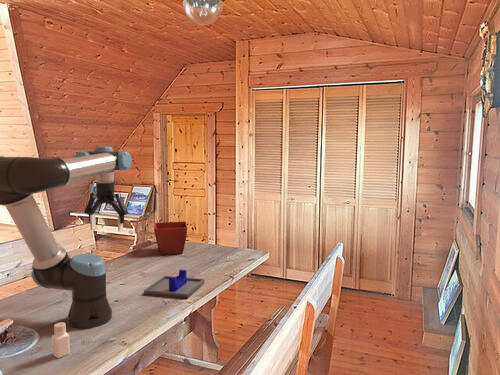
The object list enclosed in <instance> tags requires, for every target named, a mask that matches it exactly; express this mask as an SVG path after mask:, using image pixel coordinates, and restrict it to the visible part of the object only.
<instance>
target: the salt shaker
mask: <svg viewBox="0 0 500 375" xmlns="http://www.w3.org/2000/svg"><path fill="white" fill-rule="evenodd" d="M66 325H67V324H66V323H65V322H57V323H55V324H54V325H53V331H54V334H52V336H51V348H52V349H51V350H52V355H53V356H54V357H55V358H57V359H60V358H62V357H65V356H69V355H70V353H71V349H70V348H71V347H70V346H71V345H70V334H69V333H67V331H66V330H67V328H66V327H67V326H66Z"/></svg>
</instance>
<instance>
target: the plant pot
mask: <svg viewBox="0 0 500 375" xmlns="http://www.w3.org/2000/svg"><path fill="white" fill-rule="evenodd" d="M153 232H154V237H155V242H156V245H157V248H158V251H159V254H160V256H168V255H169V256H171V255H182V254H183V253H184V250H185V246H186V241H187V233H188V225H187V221H169V222H168V221H167V222H155V223H154V227H153Z"/></svg>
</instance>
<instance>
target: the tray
mask: <svg viewBox="0 0 500 375" xmlns="http://www.w3.org/2000/svg"><path fill="white" fill-rule="evenodd" d="M169 277H174V276H173V275H164V276H162V277H160V278H159V279H158V280H157V281H155V282H154V283H152V284H151V285H150V286H148V287H147V288H145V289H144V290H143V294H144V296H152V297H153V296H154V297H162V298H163V297H164V298H173V299H175V298H176V299H185V300H188V299H189V298H191V296H193V295H194V294H195V293H196V292H197V291H198V290H199V289H201V287H202V286H203V285H204V284H205V278H197V277H196V278H195V277H187V283H186V284H184V285H183V286H182V287H181V288H179V289H178V290H177V291H176V292H173V291H169Z"/></svg>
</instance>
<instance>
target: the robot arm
mask: <svg viewBox="0 0 500 375" xmlns="http://www.w3.org/2000/svg"><path fill="white" fill-rule="evenodd" d="M131 156H132V155H131V154H130V153H129V152H128V151H122V150H118V151H114V150H113V147H112V146H95V147H94V151H91V150H82V151H78V152H76V153H75V154H74V157H70V158H64V159H63V158H61V157H58V156H57V157H51V158H50V157H33V156H3V155H2V156H1V155H0V206H2V207H3V206H4V207H5V208H6V210H7V212H8V213H9V215H10V217H11V220H12V221H13V222H14V224H15V227H16V228H17V230H18V232H19V233H20V235H21V237H22V238H23V240H24V243H25V244H26V246H27V248H28V250H29V252H30V253H31V255H32V257H33V260H32V266H31V273H30V274H31V278H32V280H33V282H34V284H36V285H37V286H39V287H43V288H45V289H50V290H51V289H53V290H65V291H71V304H70V307H69V311H68V314H67V324H68V326H69V327H72V328H75V329H76V328H77V329H89V328H94V327H98V326H102V325H103V324H106V323H107V322H109V321H111V319H112V318H113V309H112V308H111V305H110V302H109V299H108V297H107V275H106V274H107V268H106V262H105V259H104V258H103V257H102V256H100V255H97V254H93V253H92V254H90V253H86V254H85V253H83V254H82V253H80V254H76V255H73V256H71V257H70V256H69V254H68V252H67V251H66V249H65V248H64V247H62V246H59V244H58V243H57V240H56V238H55V237H54V234H53V233H52V230H51V228H50V227H49V224H48V223H47V221H46V219H45V217H44V215H43V212H42V211H41V209H40V207H39V205H38V203H37V201H36V199H35V197H34V194H38V193H43V192H45V191H46V192H47V191H49V190H53V189H57V188H61V187H64V186H66V185H67V184H68V183H69V182H72V181H76V180H79V179H80V180H81V179H85V178H89V177H93V176H95V182H96V183H95V191H96V192H90V194H89V199H88V202H87V204H86V206H85V208H84V209H85V210H84V214H87V215H88V222H89V223H90V231H93V230H95V229H96V228H97V224H96V223H97V222H96V220H97V219H96V214H95V212H97V209H99V207H100V205H102V204H107V205H108V204H109V205H111V207H112V208H113V209H114V211H115V212H116V213H117V231H118V232H121V231H124V223H125V216H126V215H128V214H129V210H128V209H127V207H126V204H125V202H124V200H123V199H122V193H119V192H118V193H115V182H114V180H115V175H114V174H115V171H120V172H121V171H127V170H129V169H130V168H131V166H132V157H131ZM96 198H97V199H96Z"/></svg>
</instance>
